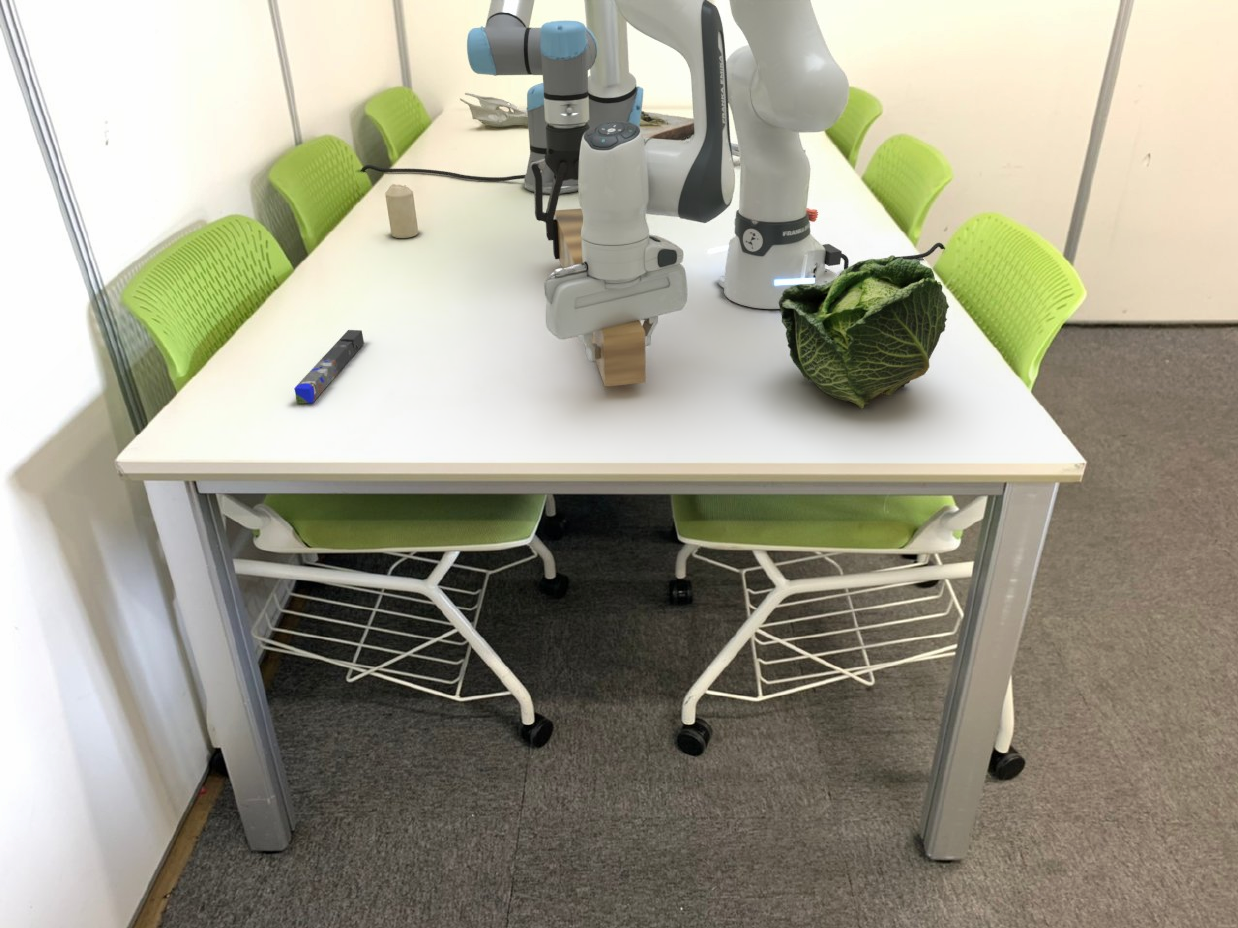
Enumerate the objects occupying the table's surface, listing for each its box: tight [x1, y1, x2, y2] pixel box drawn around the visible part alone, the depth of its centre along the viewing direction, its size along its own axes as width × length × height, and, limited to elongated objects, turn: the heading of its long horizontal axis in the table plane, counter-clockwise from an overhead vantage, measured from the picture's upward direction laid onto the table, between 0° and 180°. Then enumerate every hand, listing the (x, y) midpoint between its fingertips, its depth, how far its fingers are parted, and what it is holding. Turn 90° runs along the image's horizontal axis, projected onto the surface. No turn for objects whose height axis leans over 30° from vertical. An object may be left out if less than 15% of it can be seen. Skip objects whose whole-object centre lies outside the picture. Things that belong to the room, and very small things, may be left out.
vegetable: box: [779, 254, 950, 410], centre depth 120 cm, size 20×19×20 cm
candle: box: [384, 183, 419, 239], centre depth 183 cm, size 6×6×10 cm
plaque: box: [639, 110, 694, 141], centre depth 257 cm, size 30×7×30 cm
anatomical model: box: [459, 92, 528, 128], centre depth 271 cm, size 15×9×25 cm
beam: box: [554, 208, 646, 387], centre depth 143 cm, size 56×6×8 cm, turn 10°
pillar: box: [294, 329, 365, 404], centre depth 131 cm, size 2×2×20 cm
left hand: (573, 255), depth 164 cm, fingers closed on beam, 6 cm apart
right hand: (619, 351), depth 125 cm, fingers closed on beam, 6 cm apart
